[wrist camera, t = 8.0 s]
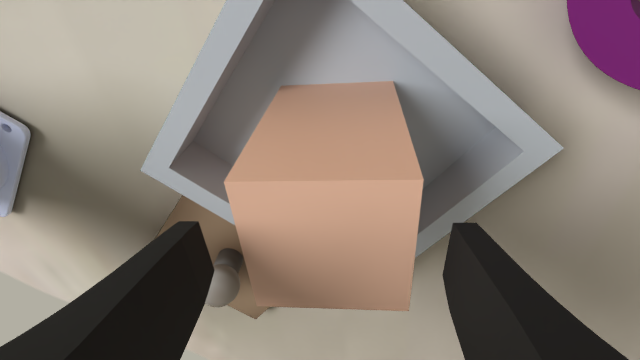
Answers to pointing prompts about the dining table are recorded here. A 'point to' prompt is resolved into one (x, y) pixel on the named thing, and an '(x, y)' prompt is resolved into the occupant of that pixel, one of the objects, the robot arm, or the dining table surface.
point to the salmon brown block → (329, 199)
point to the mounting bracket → (609, 36)
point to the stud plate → (214, 242)
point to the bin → (348, 67)
